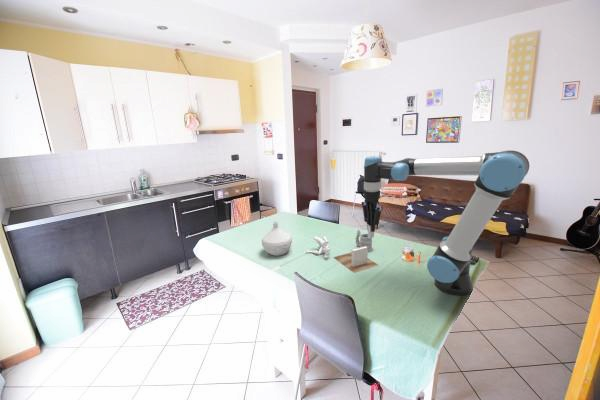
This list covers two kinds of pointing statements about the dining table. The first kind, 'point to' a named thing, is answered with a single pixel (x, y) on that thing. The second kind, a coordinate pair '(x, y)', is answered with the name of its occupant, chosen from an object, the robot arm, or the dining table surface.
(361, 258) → the tile
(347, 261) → the board
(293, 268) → the dining table surface
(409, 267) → the dining table surface
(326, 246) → the person figurine
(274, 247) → the vase
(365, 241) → the mug
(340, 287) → the dining table surface
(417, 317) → the dining table surface
